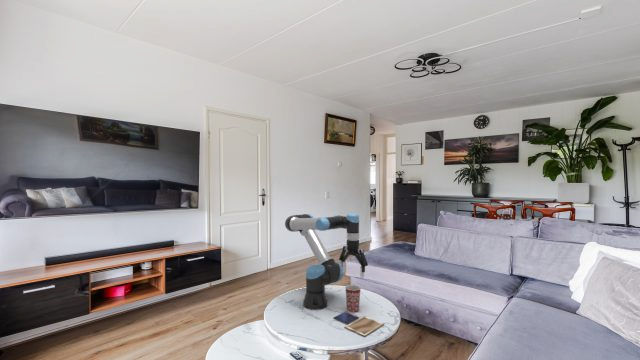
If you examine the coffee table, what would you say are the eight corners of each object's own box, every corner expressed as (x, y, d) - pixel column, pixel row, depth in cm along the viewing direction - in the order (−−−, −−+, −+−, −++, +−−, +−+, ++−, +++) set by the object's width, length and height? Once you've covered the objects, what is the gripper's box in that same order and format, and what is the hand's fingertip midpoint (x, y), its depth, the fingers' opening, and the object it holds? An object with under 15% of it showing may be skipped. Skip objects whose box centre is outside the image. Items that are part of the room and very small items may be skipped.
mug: (361, 313, 167) (361, 290, 167) (345, 313, 167) (345, 289, 167) (359, 304, 179) (359, 282, 179) (345, 303, 180) (345, 282, 180)
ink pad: (333, 318, 160) (333, 317, 160) (344, 313, 167) (344, 311, 167) (347, 325, 153) (347, 323, 153) (358, 318, 160) (358, 317, 160)
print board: (344, 328, 150) (344, 326, 150) (363, 317, 162) (363, 315, 162) (364, 337, 141) (364, 335, 141) (383, 325, 153) (383, 323, 153)
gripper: (333, 237, 180) (333, 271, 179) (366, 243, 162) (366, 281, 162) (341, 236, 185) (341, 269, 185) (373, 241, 167) (373, 278, 167)
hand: (353, 275), depth 173 cm, fingers open, 13 cm apart
